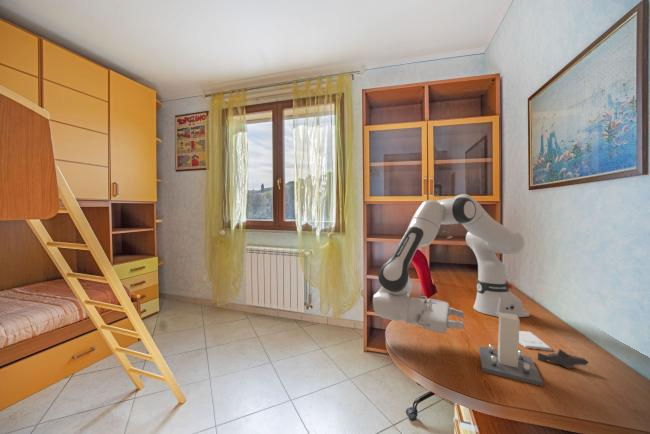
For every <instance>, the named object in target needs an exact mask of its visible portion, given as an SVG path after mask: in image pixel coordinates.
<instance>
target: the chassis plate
mask: <svg viewBox="0 0 650 434" xmlns="http://www.w3.org/2000/svg"><path fill="white" fill-rule="evenodd" d="M478 351H479V357H480V365H481V372H483V373H487V374H490V375H494V376H499V377H502V378H507V379H509V380H510V379H511V380H516V381H519V382H522V383H523V382H524V383H527V384H530V383H531V385H534V384H536V385H535V386H538V385H540V386H539V387H542V386H543V387H544V381H543V379H542V378H541V375H540V373H539V371H538V369H537V367H536V365H535V363H534V361H533V359H532V357H531V356H526V355H525V353H524V352H525V351H523V350H521V349H519V350H518V368H517V367H512V366H508V365H504V364H500V363H499V360H498V349H495V346H494V344H492V343H489V344H488V347H484V346H481V345H480V346H479V348H478Z"/></svg>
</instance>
